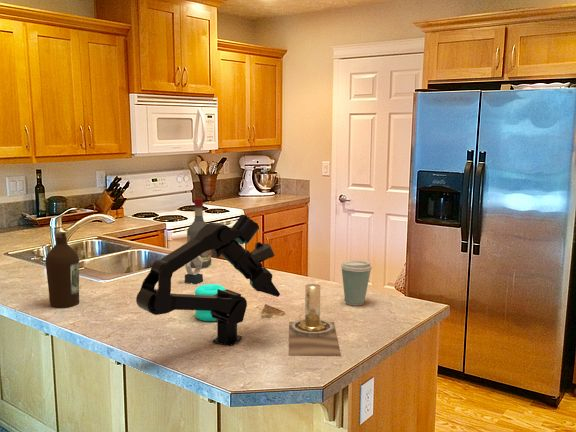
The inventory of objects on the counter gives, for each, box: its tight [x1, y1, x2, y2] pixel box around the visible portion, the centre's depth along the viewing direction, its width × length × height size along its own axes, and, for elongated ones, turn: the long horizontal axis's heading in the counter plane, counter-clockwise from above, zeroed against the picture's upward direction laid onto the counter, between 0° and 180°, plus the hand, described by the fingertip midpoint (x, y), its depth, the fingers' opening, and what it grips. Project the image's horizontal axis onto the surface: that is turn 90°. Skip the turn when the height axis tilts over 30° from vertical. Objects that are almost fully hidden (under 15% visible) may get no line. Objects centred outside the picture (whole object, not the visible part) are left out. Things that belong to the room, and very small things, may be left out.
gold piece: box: [298, 283, 326, 332], centre depth 164 cm, size 8×8×14 cm
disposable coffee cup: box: [340, 260, 372, 307], centre depth 192 cm, size 11×11×15 cm
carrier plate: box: [288, 318, 342, 357], centre depth 158 cm, size 26×14×2 cm, turn 0°
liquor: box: [186, 197, 212, 269], centre depth 242 cm, size 9×9×30 cm
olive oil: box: [44, 231, 80, 309], centre depth 188 cm, size 11×11×25 cm
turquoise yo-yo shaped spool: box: [194, 283, 227, 322], centre depth 177 cm, size 10×10×10 cm
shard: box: [260, 304, 286, 319], centre depth 182 cm, size 11×8×2 cm
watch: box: [184, 256, 204, 285], centre depth 217 cm, size 6×8×11 cm
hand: (275, 290), depth 160 cm, fingers open, 9 cm apart
